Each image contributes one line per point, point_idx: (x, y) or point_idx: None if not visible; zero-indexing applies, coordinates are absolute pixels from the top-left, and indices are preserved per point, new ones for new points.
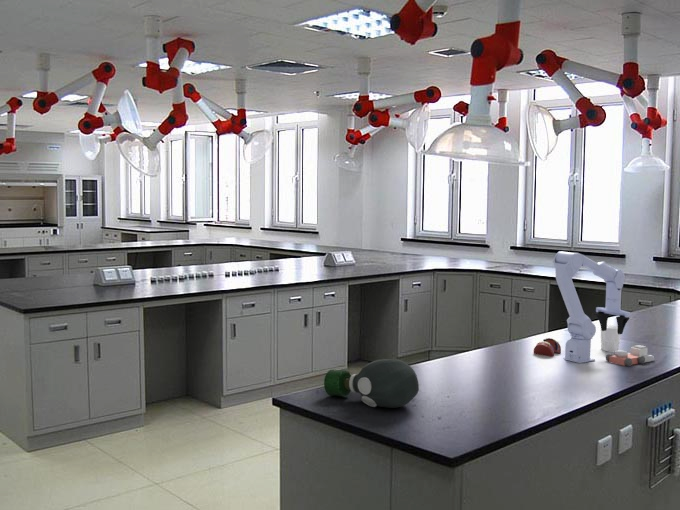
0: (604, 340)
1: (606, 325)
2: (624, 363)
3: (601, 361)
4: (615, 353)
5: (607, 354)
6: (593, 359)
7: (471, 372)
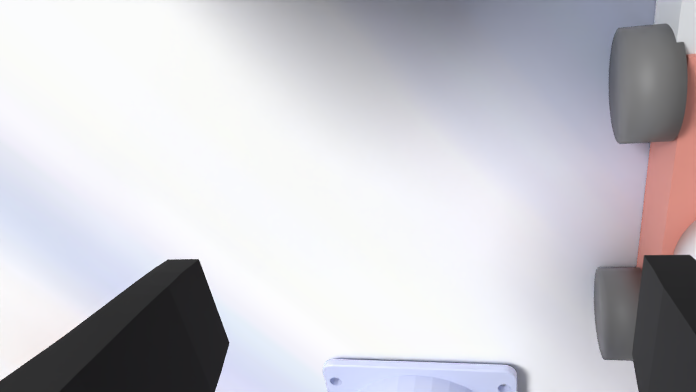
0: None
1: (132, 340)
2: None
3: (564, 336)
4: None
5: (615, 359)
6: (512, 388)
7: None
